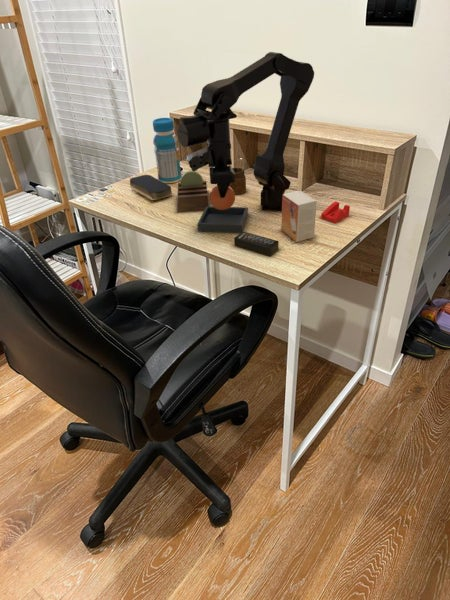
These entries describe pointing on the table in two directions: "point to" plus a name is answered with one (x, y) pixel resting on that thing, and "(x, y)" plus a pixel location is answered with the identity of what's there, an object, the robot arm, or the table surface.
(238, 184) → the utensil holder
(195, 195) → the rack
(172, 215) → the table surface
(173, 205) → the table surface
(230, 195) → the terracotta disc
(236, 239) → the multiport hub
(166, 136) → the beverage bottle
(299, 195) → the small box
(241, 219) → the tray
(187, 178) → the sage disc
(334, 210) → the bracket
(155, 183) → the black sponge
